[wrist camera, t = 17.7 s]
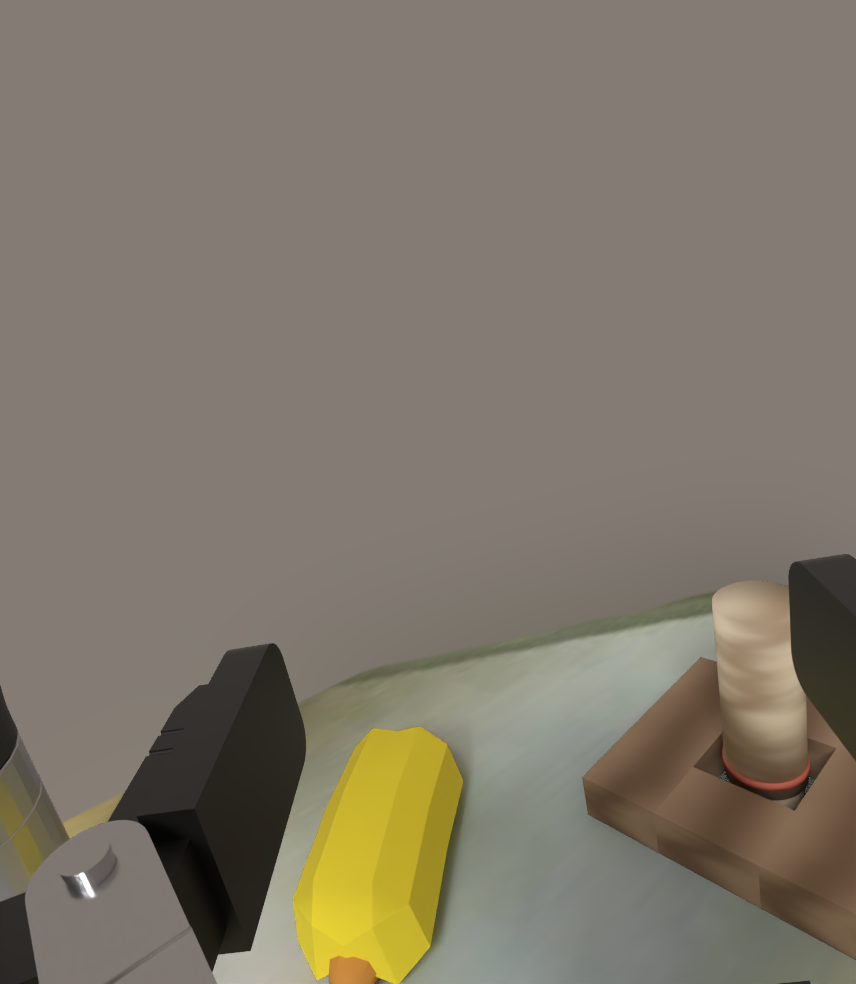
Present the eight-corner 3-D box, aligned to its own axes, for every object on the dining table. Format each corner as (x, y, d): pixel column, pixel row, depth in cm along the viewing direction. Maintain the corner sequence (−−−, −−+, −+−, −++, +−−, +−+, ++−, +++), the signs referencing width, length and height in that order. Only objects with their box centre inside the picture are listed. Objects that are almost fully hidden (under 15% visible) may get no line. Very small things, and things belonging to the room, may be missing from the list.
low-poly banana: (473, 767, 53) (374, 769, 54) (456, 691, 50) (353, 696, 52) (425, 1024, 36) (285, 1014, 38) (397, 928, 34) (250, 922, 36)
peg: (711, 804, 45) (694, 611, 40) (746, 759, 48) (733, 573, 43) (791, 841, 41) (782, 633, 37) (823, 789, 44) (819, 590, 40)
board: (588, 814, 46) (582, 777, 45) (703, 690, 55) (700, 657, 54) (866, 965, 34) (866, 919, 33) (955, 776, 43) (958, 736, 42)
